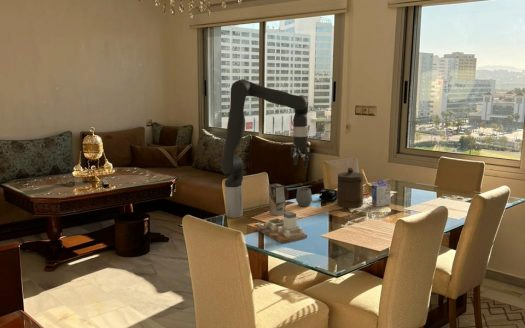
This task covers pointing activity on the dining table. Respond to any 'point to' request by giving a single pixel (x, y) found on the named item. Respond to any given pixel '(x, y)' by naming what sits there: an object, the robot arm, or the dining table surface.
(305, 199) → the cup
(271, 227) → the socket board
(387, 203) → the ink cartridge box
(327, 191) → the end cap
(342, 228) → the dining table surface
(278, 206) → the coffee box
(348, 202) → the wooden container
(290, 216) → the plug
